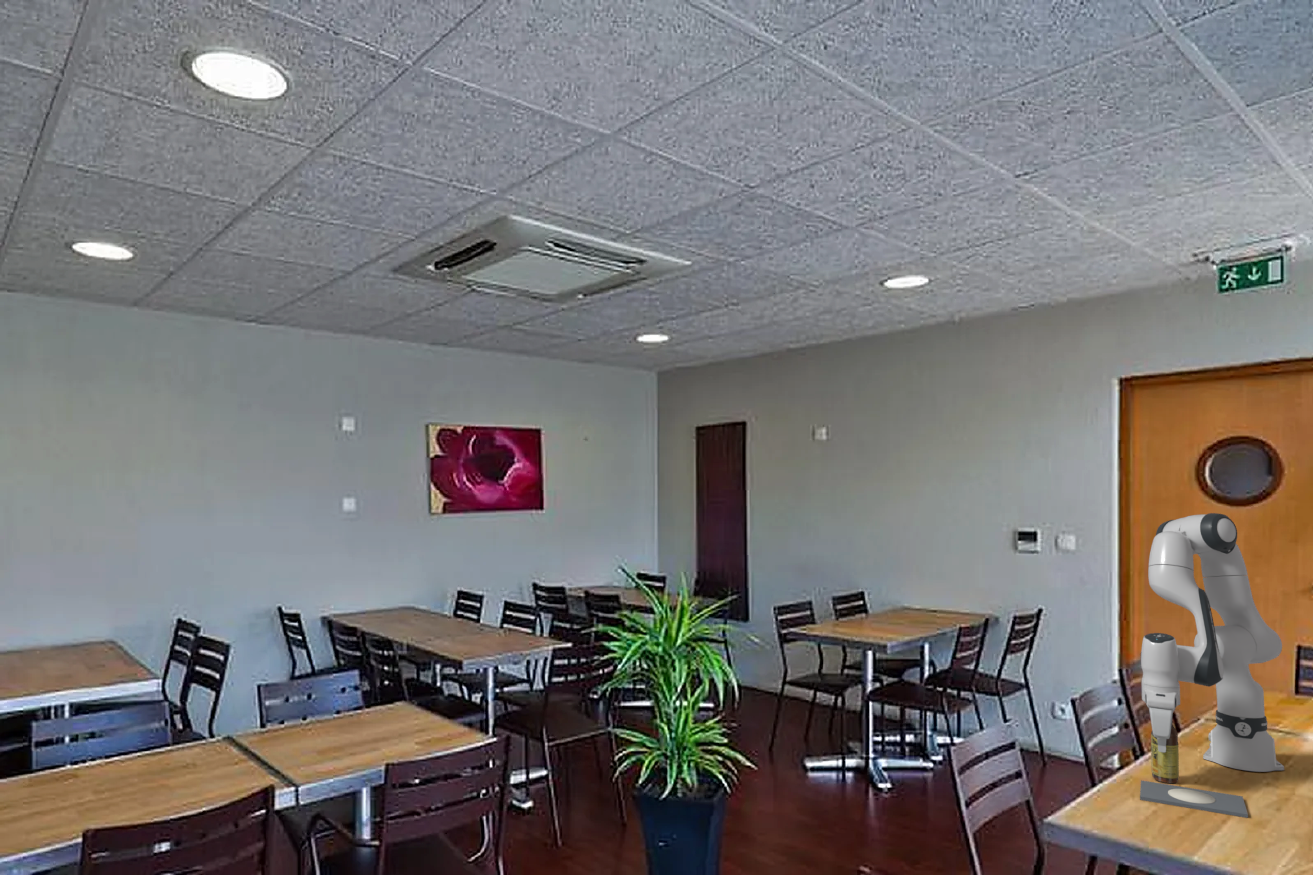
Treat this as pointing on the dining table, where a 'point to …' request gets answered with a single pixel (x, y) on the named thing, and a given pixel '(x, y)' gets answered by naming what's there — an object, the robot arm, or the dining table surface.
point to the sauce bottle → (1165, 759)
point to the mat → (1193, 798)
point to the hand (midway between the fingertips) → (1162, 748)
